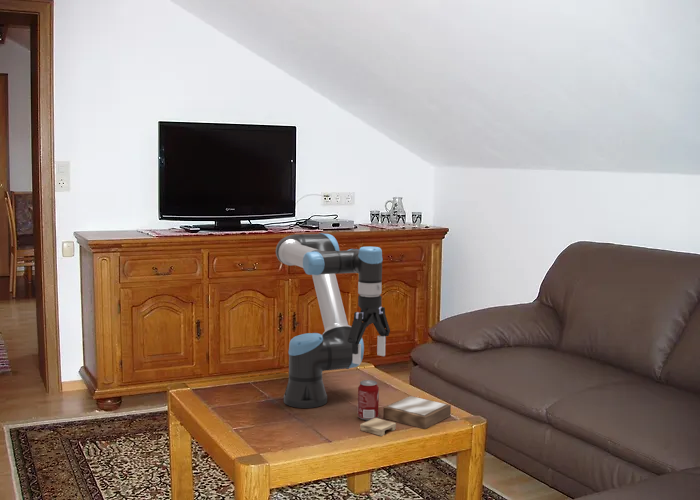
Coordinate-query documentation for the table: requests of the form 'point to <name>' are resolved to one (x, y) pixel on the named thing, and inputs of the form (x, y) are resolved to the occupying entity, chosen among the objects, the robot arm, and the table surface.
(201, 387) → the table surface
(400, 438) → the table surface
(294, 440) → the table surface
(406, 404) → the dock
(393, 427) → the plate
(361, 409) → the soda can
